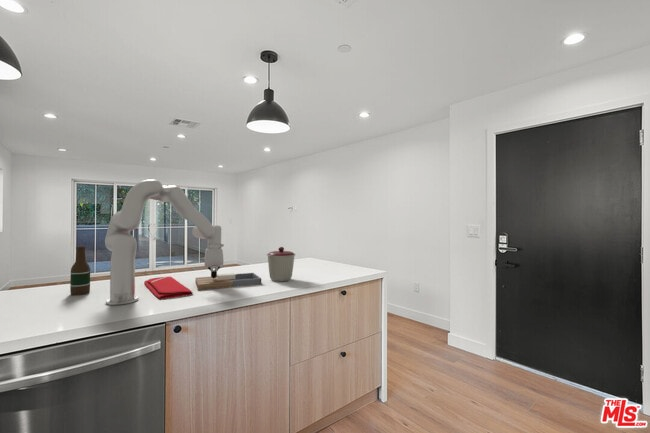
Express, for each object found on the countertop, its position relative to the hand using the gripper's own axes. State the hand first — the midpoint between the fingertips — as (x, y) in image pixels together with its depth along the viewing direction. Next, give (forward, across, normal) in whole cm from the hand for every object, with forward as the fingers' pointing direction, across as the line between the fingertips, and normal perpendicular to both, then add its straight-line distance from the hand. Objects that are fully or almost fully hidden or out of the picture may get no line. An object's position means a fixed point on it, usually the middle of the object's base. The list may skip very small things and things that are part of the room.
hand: (213, 277), depth 176 cm
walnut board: (+4, 0, 0) cm, 4 cm away
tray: (+4, -17, 0) cm, 17 cm away
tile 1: (+1, -4, 0) cm, 4 cm away
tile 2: (+1, -9, 0) cm, 9 cm away
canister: (+4, -40, +3) cm, 40 cm away
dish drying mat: (+5, +24, +1) cm, 25 cm away
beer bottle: (+4, +63, -6) cm, 64 cm away
